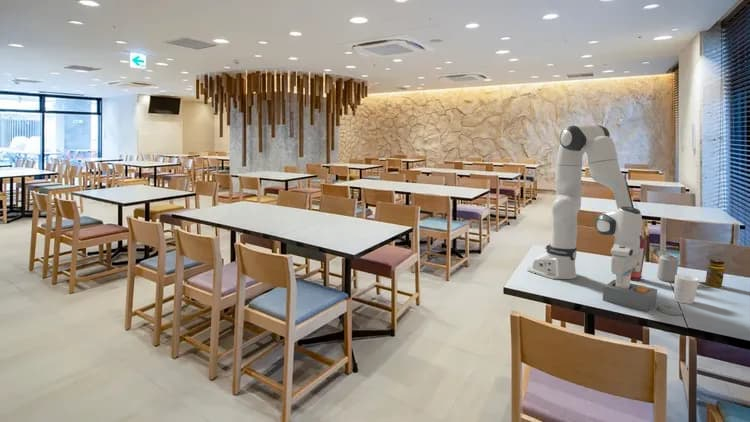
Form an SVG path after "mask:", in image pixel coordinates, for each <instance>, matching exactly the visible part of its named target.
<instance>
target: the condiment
mask: <svg viewBox="0 0 750 422" xmlns="http://www.w3.org/2000/svg"><path fill="white" fill-rule="evenodd" d="M724 273H725V261H724V260H721V259H717V258H710V259H709V262H708V265H707V268H706V276H705V281H698V285H701V286H702V287H703V288H712V289H722V290H726V288H725V287H723V282H724V275H725V274H724Z"/></svg>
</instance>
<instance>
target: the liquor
mask: <svg viewBox="0 0 750 422" xmlns="http://www.w3.org/2000/svg"><path fill="white" fill-rule="evenodd" d="M644 222H645V221H644V220H643V219H642V228H641V233H640V249H639V254H638V261H637V265H636V266H635V267H633V269H632V272H631V278H630V281H640V280H641V279H642V278H643V276H642V273H643V266H644V260H645V255H646V249H647V244H648V240H647V239H646V238H644V237H643V226H644Z"/></svg>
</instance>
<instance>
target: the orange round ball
mask: <svg viewBox="0 0 750 422" xmlns="http://www.w3.org/2000/svg"><path fill="white" fill-rule="evenodd" d="M637 285H638V286H637V287H636V291H639V292H644V293H647V290H648V287H649V286H646V285H639V284H637Z"/></svg>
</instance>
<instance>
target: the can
mask: <svg viewBox="0 0 750 422" xmlns="http://www.w3.org/2000/svg"><path fill="white" fill-rule="evenodd" d="M658 258H659V259H658V266H657V272H656V273H657V275H656V278H658V279H659V280H660V281H662V282H667V283H671V282H675V275H678V267H679V261H680V260H679V259H678V256H677V255H676V254H672V253H661V255H660V256H659V257H658Z"/></svg>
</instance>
